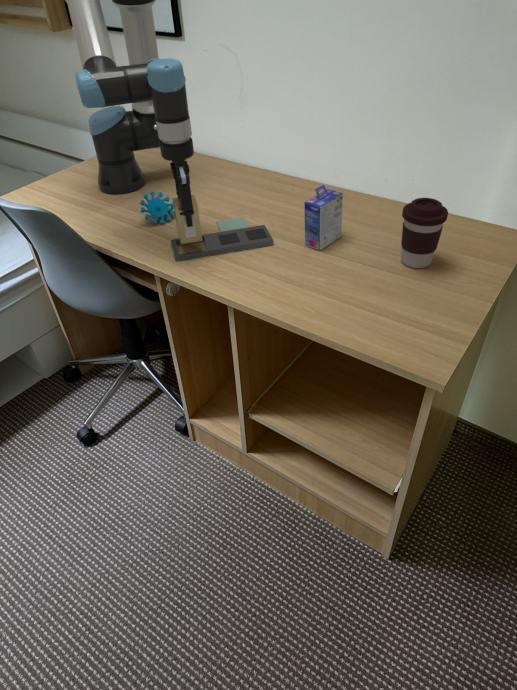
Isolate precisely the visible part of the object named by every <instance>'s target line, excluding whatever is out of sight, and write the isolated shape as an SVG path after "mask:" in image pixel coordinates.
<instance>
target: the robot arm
mask: <svg viewBox="0 0 517 690" xmlns="http://www.w3.org/2000/svg"><path fill="white" fill-rule="evenodd" d="M156 1H157V0H111V2H112V3H113V4H114V6H116V7H117V8H118V10H119V14H120V19H121V26H122V32H123V36H124V44H125V48H126V53H127V59H128V63H129V65H121V66H119V65H118V66H117V62H116V60H115V55H114V52H113V48H112V44H111V40H110V36H109V32H108V27H107V24H106V19H105V17H104V11H103V8H102V5H101V0H64V2H66V4H67V7H68V12H69V16H70V20H71V24H72V29H73V33H74V38H75V41H76V45H77V50H78V54H79V58H80V63H81V66H82V67H81V68H82V69H81V70H78V71H76V72H75V74H74V75H75V82H76V85H77V90H78V94H79V97H80V100H81V104H82V106H83V107H84V108H87V109H98V108H100V109H99V110H97V111H95V112H93V113H92V114H91V115H90V116H89V118H88V126H89V134H90V135H91V138H92V141H93V142H92V143H93V145H94V146H93V147H94V149H95V153H96V158H97V161H98V163H97V164H98V172H97V173H98V174H97V184H98V188H99V191H101V192H102V193H105V194H109V195H121V194H128V193H131V192H134V191H137V190H139V189H141V188H143V187H144V185H145V184H146V180H145V175H144V173H143V171H142V169H141V168H140V166H139V163H138V162H137V160H136V157H135V152H138V151H145V150H150V149H152V150H153V149H157V148H159V149H160V155H161V158H162V159H164V160H165V161H170V163H169V164H170V169H171V172H172V177H173V180H174V183H175V184H174V185H175V189H176V190H175V191H176V192H175V194H176V195H177V197H180V200H181V206H182V212H181V213H180V216H181V215H182V217H183V224H184V230H185V237H186V238H190V237H196V229H195V222H194V215H193V214H194V210H193V204H192V197H191V195H192V191H191V177H190V167H189V166H190V165H189V164H188V160H187V159H190V158H192V157H193V156H194V153H195V149H194V142H193V141H194V140H193V138H192V136H193V132H192V125H191V117H190V113H189V104H188V98H187V96H188V95H187V88H186V75H185V74H184V68H183V64H182V62H181V61H180V60H179V59H175V58H160V57H159V51H158V43H157V36H156V35H157V34H156V30H155V29H156V28H155V20H154V13H153V5H154V4H155V3H156ZM127 104H131V110H127V111H126V109H125V107H124V106H122V105H127ZM101 108H102V109H101Z"/></svg>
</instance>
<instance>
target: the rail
mask: <svg viewBox="0 0 517 690" xmlns="http://www.w3.org/2000/svg"><path fill="white" fill-rule="evenodd" d="M200 242H204V245H205V249H202V250H197V251H192V252H191V251H190V252H185V253H179V248H178V246H181V245H183V244H181V242H180V238H179V237H178V238H174V239H170V244H171V248H172V253H173V257H174V261H175V262H180V261H187V260H192V259H199V258H205V257H210V256H218V255H222V254H228V253H235V252H241V251H247V250H252V249H258V248H263V247H270V246H274V239H273V237H272V236H271V234H270V232H269V231H268V229H267V227H266V225H265V224H260V225H254V226H248V227H247V228H241V229H235V230H229V231H222V232H220V231H218V232H210V233H205V234H202V241H197V242H196V243H200ZM194 243H195V242H191V243H190V244H194ZM187 244H189V243H185V244H184V245H187Z"/></svg>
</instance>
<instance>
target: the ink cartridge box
mask: <svg viewBox="0 0 517 690" xmlns="http://www.w3.org/2000/svg"><path fill="white" fill-rule="evenodd" d="M314 190H315V193H316V195H314V196H312V197H311V198H308V200H305V201H304V244H305V247H309V248H311V249H314V250H316V251H321V250H323V249H325V248H326V247H327V246H329V245H331V244H332V243H333V242H336V241H337V240H338V239H339V238H341V237H342V227H343V225H342V224H343V205H344V204H343V203H344V201H343V200H344V193H343V192H340V191H336V190H333V189H330V188H326V186H325V184H322V185H319V187H316V188H315V189H314ZM321 190H322V191H321ZM320 191H321V192H320Z"/></svg>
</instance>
